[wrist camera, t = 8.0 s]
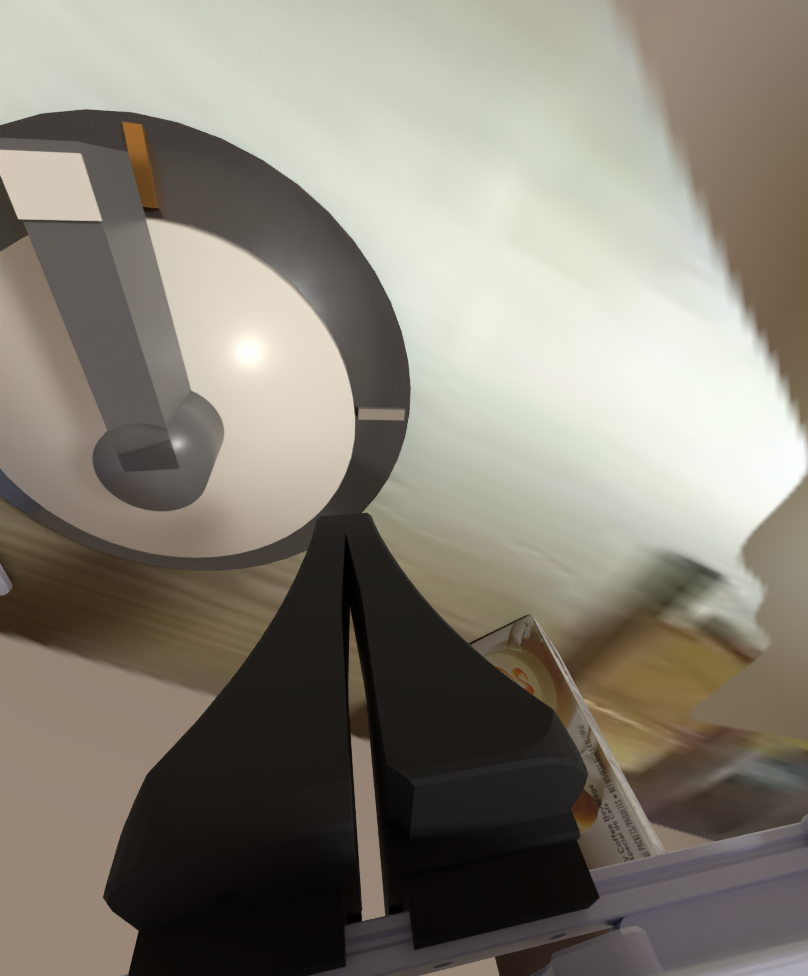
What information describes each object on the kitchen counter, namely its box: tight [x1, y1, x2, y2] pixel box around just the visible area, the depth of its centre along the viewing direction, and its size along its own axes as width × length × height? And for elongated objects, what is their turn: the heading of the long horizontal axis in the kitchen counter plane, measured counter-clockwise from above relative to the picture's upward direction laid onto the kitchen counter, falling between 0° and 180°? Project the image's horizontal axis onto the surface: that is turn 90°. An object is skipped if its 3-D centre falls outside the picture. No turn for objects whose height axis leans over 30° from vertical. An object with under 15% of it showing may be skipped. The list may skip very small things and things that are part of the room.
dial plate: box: [0, 109, 410, 570], centre depth 17 cm, size 18×18×1 cm
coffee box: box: [470, 615, 666, 976], centre depth 26 cm, size 9×6×16 cm
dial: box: [0, 138, 355, 558], centre depth 15 cm, size 14×13×5 cm
